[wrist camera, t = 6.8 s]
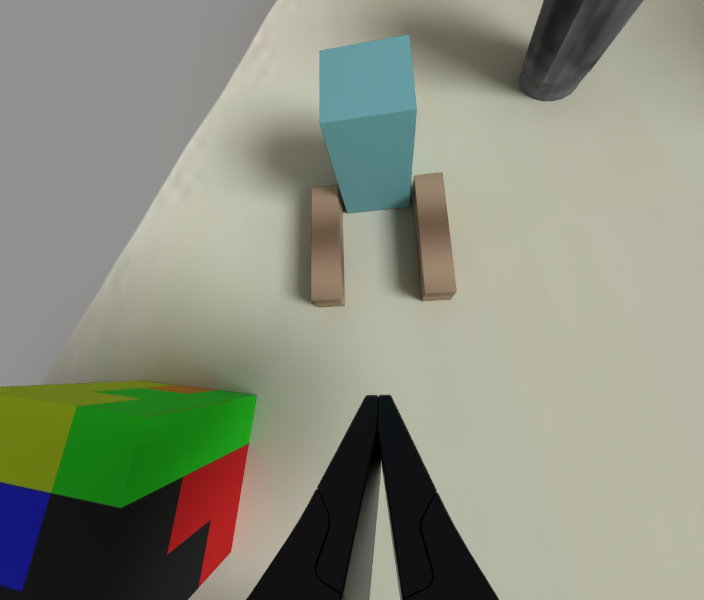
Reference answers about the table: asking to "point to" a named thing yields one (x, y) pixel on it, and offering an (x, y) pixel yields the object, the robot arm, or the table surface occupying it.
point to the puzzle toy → (118, 488)
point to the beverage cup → (570, 43)
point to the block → (370, 121)
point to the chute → (429, 234)
